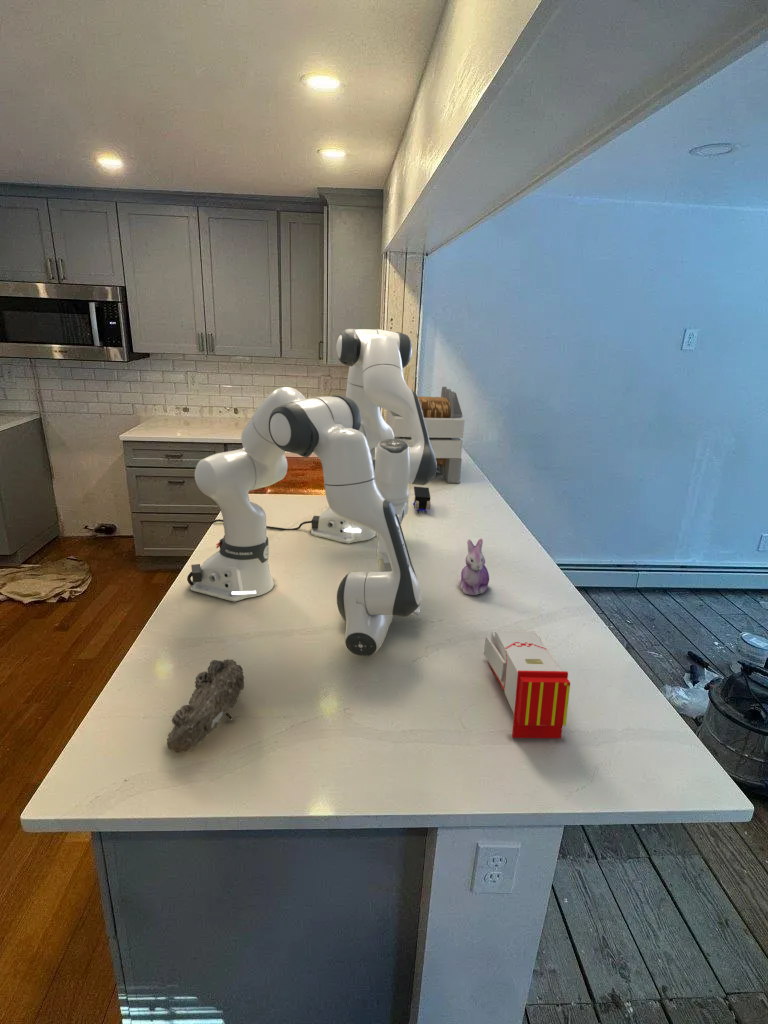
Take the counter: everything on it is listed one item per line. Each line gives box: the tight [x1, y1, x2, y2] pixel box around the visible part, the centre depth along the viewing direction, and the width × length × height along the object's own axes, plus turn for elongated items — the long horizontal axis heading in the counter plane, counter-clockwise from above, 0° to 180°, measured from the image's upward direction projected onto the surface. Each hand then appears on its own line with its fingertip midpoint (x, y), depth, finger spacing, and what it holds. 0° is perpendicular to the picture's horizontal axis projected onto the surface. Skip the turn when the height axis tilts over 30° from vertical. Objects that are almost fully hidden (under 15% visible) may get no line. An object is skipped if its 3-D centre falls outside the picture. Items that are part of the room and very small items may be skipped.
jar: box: [377, 558, 392, 572], centre depth 149 cm, size 5×5×16 cm
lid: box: [376, 546, 384, 560], centre depth 146 cm, size 6×6×2 cm
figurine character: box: [412, 486, 431, 515], centre depth 224 cm, size 7×8×15 cm
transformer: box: [385, 386, 465, 484], centre depth 268 cm, size 34×33×41 cm
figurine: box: [459, 538, 490, 596], centre depth 160 cm, size 9×10×15 cm
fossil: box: [166, 658, 245, 754], centre depth 106 cm, size 22×10×15 cm
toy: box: [483, 629, 571, 739], centre depth 117 cm, size 12×13×30 cm
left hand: (387, 585), depth 151 cm, fingers closed on jar, 5 cm apart
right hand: (388, 555), depth 147 cm, fingers open, 6 cm apart
